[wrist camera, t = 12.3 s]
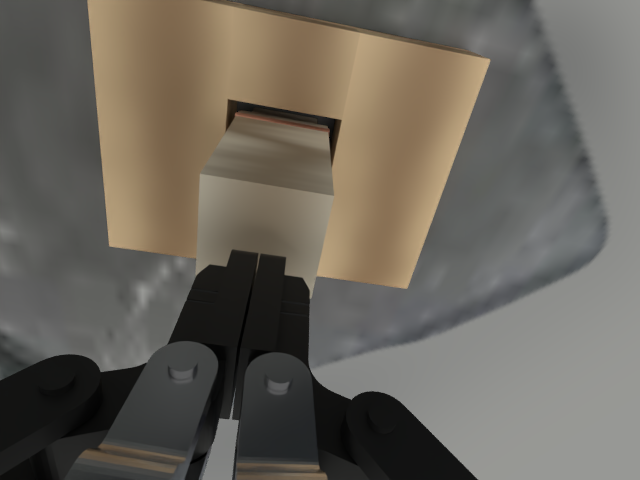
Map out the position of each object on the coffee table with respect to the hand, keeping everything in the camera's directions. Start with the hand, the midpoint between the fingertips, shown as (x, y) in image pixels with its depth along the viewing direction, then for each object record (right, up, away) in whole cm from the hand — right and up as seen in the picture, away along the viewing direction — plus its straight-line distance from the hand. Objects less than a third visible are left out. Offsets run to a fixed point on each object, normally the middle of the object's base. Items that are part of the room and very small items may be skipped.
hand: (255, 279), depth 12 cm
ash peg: (0, +6, +10) cm, 12 cm away
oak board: (0, +6, +10) cm, 12 cm away
